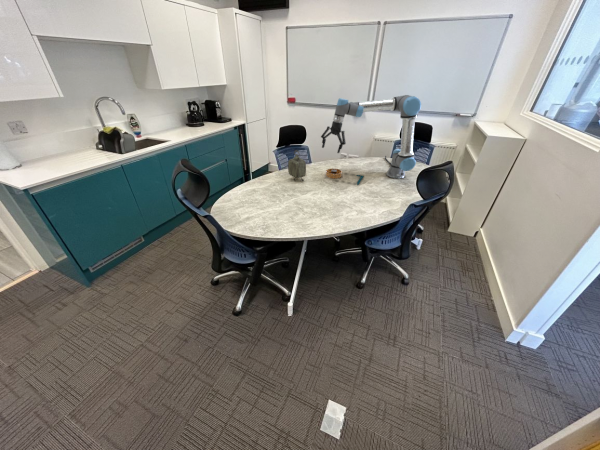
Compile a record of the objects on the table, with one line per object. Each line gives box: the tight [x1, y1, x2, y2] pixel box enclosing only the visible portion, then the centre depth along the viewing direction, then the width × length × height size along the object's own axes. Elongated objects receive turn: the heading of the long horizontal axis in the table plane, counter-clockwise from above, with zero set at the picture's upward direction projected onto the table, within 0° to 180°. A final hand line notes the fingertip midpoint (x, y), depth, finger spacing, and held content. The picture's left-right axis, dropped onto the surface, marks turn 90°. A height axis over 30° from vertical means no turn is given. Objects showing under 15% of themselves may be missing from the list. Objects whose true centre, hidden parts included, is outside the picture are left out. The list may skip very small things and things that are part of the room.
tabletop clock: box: [287, 150, 307, 182], centre depth 203 cm, size 14×9×25 cm, turn 34°
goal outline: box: [356, 174, 364, 186], centre depth 213 cm, size 22×22×1 cm
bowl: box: [325, 168, 343, 179], centre depth 216 cm, size 14×14×4 cm
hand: (330, 150), depth 192 cm, fingers open, 13 cm apart
